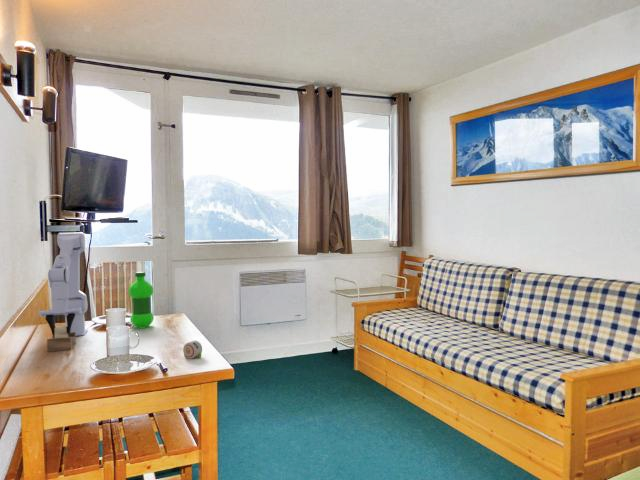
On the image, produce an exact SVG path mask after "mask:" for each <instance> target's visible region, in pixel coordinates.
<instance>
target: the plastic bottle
mask: <svg viewBox="0 0 640 480" xmlns="http://www.w3.org/2000/svg"><path fill="white" fill-rule="evenodd" d="M134 273H135V277H136V280H135V281H134V282H133V283H132V284H131V285H130V286H129V287H128V294H129V297H131V308H132V314H131V316H130V323H131V325H133V326H134V327H136V328H137V329H145V328H148V327H149V326H150V325H152V323H153V321H154V315H153V312H152V305H151V304H152V302H151V301H152V300H151V297H152V296H153V295H154V287H153V285H152V284H151V283H150V282H148V281H147V279H145V277H146V271H138V272H137V271H135V272H134Z"/></svg>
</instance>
